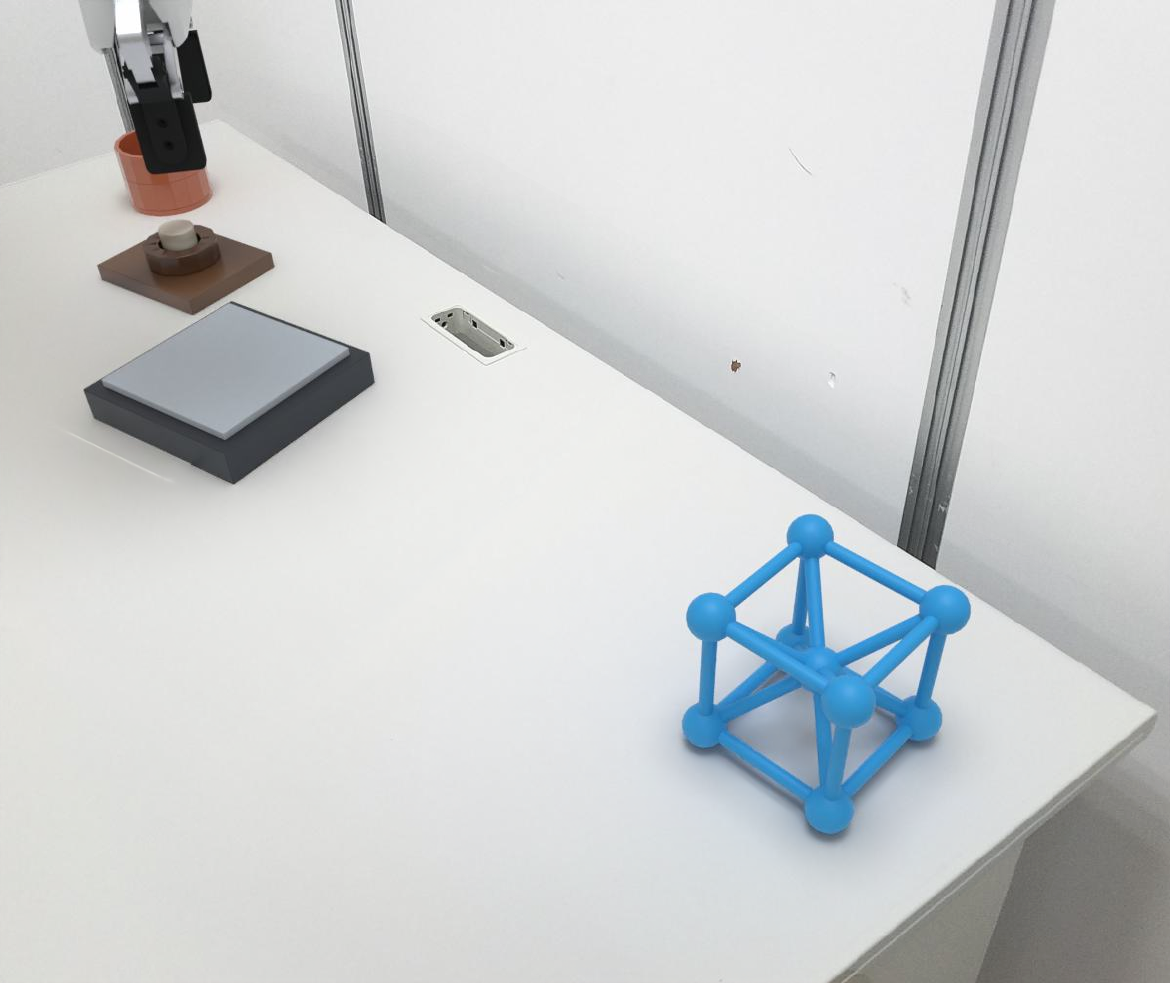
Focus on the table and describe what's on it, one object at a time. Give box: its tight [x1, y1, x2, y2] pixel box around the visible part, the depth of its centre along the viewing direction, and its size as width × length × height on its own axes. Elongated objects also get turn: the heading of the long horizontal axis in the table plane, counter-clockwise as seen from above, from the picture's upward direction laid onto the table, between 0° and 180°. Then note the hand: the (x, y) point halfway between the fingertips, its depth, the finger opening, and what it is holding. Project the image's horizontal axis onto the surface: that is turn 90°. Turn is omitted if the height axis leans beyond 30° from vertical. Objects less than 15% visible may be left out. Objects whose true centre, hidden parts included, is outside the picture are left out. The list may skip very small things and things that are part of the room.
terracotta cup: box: [113, 129, 213, 217], centre depth 108 cm, size 7×7×6 cm
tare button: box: [157, 219, 198, 251], centre depth 97 cm, size 3×3×2 cm
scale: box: [82, 300, 376, 484], centre depth 85 cm, size 15×14×3 cm
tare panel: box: [96, 224, 275, 316], centre depth 99 cm, size 11×9×3 cm
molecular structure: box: [681, 513, 972, 835], centre depth 58 cm, size 10×10×10 cm
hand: (182, 134), depth 69 cm, fingers open, 9 cm apart
